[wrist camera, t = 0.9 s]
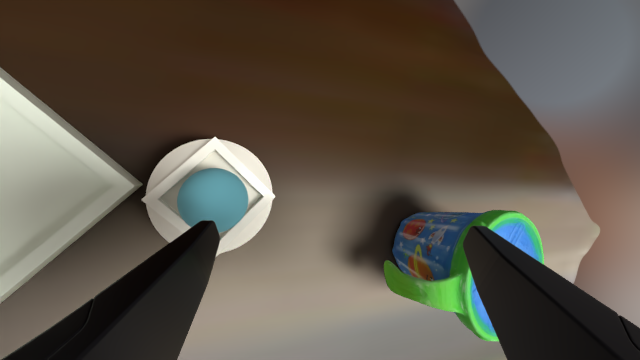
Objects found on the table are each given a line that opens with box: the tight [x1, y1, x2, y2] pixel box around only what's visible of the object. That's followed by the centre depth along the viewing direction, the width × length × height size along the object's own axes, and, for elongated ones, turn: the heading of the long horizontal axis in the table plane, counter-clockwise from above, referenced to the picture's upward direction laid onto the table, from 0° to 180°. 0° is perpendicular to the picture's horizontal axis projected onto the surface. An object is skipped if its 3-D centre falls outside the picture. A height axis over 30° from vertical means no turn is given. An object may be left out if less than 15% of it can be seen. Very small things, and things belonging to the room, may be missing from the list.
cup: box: [141, 137, 276, 258], centre depth 18 cm, size 8×8×4 cm
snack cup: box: [384, 210, 544, 341], centre depth 24 cm, size 16×10×10 cm
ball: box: [177, 168, 248, 233], centre depth 15 cm, size 4×4×4 cm
